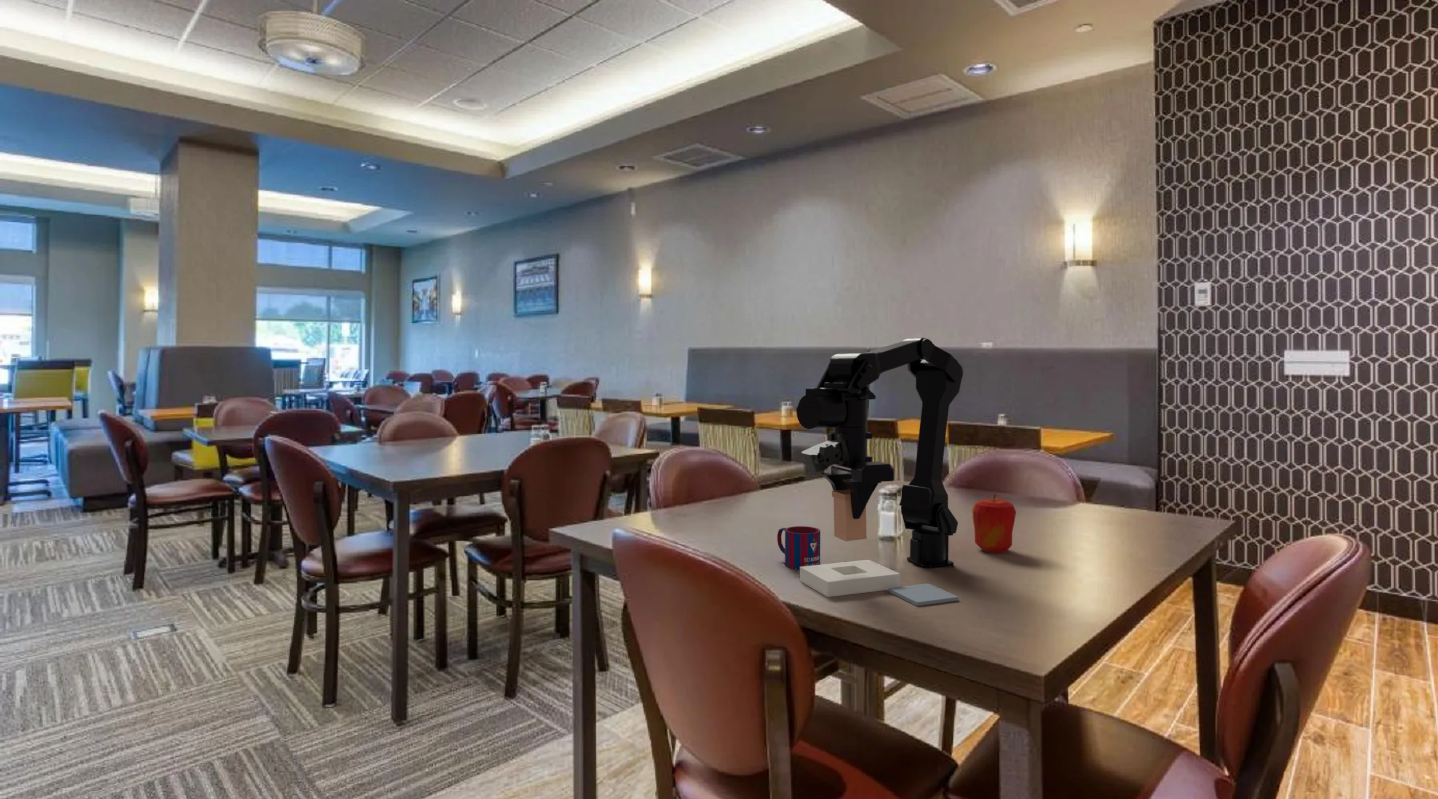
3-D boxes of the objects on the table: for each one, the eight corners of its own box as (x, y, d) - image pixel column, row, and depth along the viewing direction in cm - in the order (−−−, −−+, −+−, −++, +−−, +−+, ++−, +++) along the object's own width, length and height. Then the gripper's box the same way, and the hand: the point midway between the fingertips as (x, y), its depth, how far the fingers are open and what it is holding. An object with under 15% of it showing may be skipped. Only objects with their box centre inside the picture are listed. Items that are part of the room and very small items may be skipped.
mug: (799, 571, 137) (799, 535, 136) (767, 559, 145) (767, 525, 145) (827, 566, 140) (827, 531, 140) (794, 555, 149) (795, 521, 148)
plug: (854, 533, 131) (853, 488, 131) (868, 538, 127) (867, 492, 126) (832, 536, 129) (831, 490, 129) (845, 541, 125) (844, 494, 125)
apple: (988, 543, 158) (989, 489, 158) (1024, 551, 152) (1025, 494, 151) (963, 549, 154) (963, 493, 153) (999, 558, 147) (999, 498, 146)
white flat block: (868, 573, 136) (868, 559, 136) (900, 588, 126) (900, 573, 126) (799, 580, 131) (799, 566, 131) (827, 597, 121) (827, 582, 121)
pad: (928, 586, 127) (928, 583, 127) (958, 600, 120) (958, 596, 120) (888, 591, 124) (888, 588, 124) (917, 606, 117) (917, 602, 117)
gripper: (784, 423, 133) (784, 510, 134) (836, 432, 116) (835, 531, 116) (838, 422, 137) (838, 506, 138) (896, 430, 120) (895, 525, 120)
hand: (849, 516), depth 128 cm, fingers closed on plug, 4 cm apart
